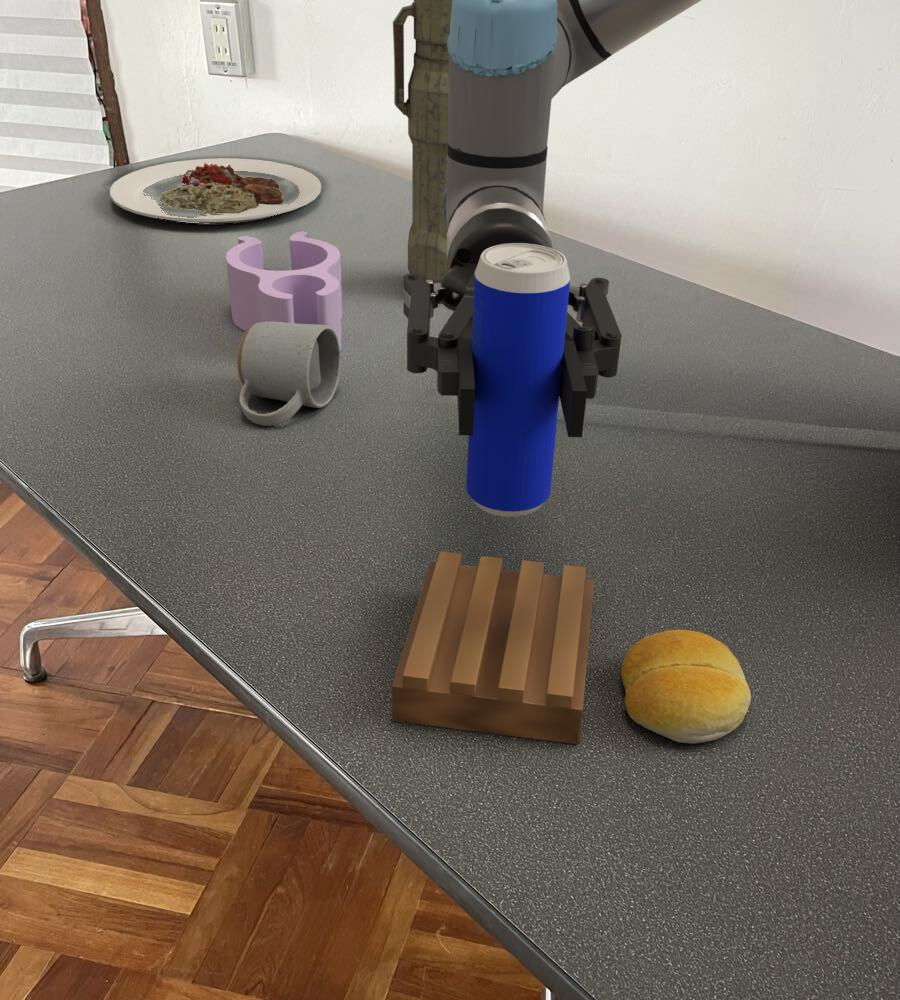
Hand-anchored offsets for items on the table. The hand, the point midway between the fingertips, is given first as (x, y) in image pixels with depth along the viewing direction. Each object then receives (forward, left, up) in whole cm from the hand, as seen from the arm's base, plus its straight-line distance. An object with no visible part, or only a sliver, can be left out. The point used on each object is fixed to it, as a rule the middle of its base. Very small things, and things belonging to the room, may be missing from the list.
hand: (522, 413), depth 57 cm
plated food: (+54, -101, -22) cm, 117 cm away
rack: (+1, -5, -22) cm, 22 cm away
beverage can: (+1, -5, -9) cm, 10 cm away
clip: (+31, -59, -22) cm, 70 cm away
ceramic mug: (+26, -40, -22) cm, 52 cm away
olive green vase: (+16, -73, -22) cm, 78 cm away
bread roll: (-12, -4, -22) cm, 25 cm away
